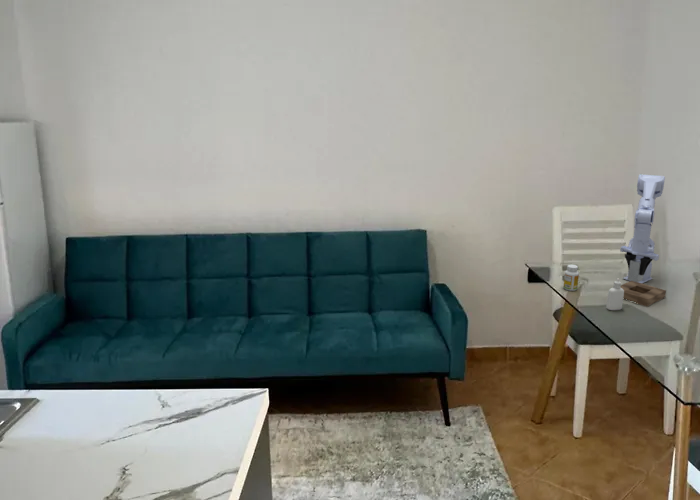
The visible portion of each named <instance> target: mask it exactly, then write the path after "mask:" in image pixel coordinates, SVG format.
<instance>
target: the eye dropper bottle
mask: <svg viewBox="0 0 700 500" xmlns="http://www.w3.org/2000/svg"><path fill="white" fill-rule="evenodd" d="M621 285H622V282H621V281H620V278H616V280H614V281H613V287H611V288H609V289H608V291H607V297H606V298H607V299H606V306H605V307H606V309H607V310H608V311H620V310H621V309H623V303H624V299H623V297H624V290H623V289H622V288H620V287H621Z"/></svg>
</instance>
